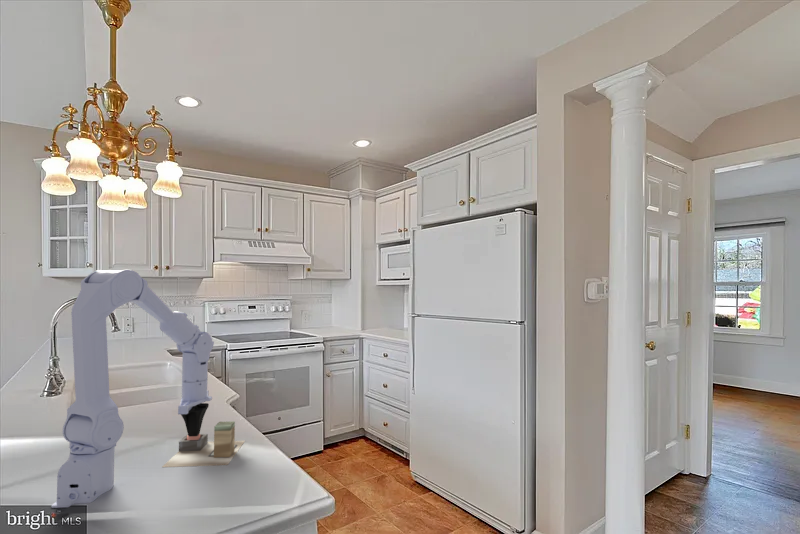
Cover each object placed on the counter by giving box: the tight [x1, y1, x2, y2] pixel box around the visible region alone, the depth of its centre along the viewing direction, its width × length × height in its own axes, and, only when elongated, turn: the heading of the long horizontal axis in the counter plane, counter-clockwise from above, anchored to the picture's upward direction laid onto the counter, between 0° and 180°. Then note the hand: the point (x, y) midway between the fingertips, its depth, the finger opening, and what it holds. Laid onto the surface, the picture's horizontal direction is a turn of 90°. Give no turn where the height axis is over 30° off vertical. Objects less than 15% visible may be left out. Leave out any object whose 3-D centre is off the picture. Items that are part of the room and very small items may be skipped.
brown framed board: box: [161, 433, 246, 468], centre depth 104 cm, size 18×16×3 cm
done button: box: [186, 433, 201, 440], centre depth 108 cm, size 3×3×3 cm
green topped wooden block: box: [213, 420, 236, 457], centre depth 103 cm, size 4×4×7 cm
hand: (193, 435), depth 108 cm, fingers closed, pressing on done button
